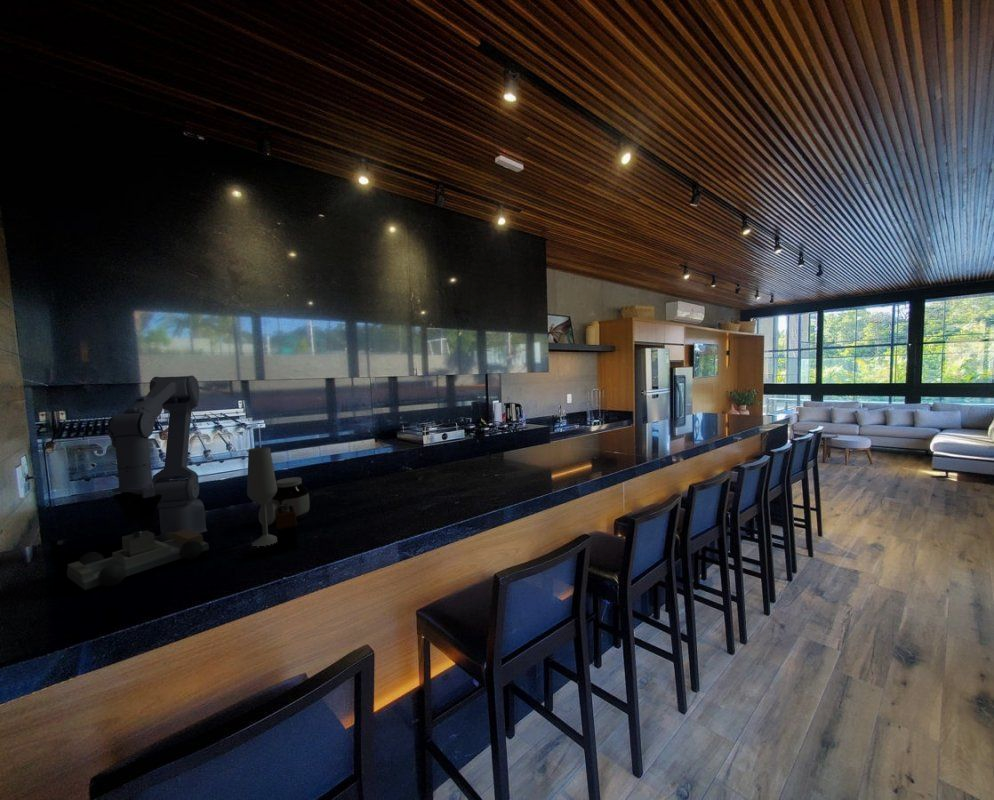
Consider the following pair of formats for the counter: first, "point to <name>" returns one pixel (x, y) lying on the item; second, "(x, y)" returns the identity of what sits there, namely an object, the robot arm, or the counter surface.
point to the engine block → (138, 543)
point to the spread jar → (288, 499)
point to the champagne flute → (261, 487)
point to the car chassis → (135, 560)
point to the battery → (286, 527)
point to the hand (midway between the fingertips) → (139, 524)
